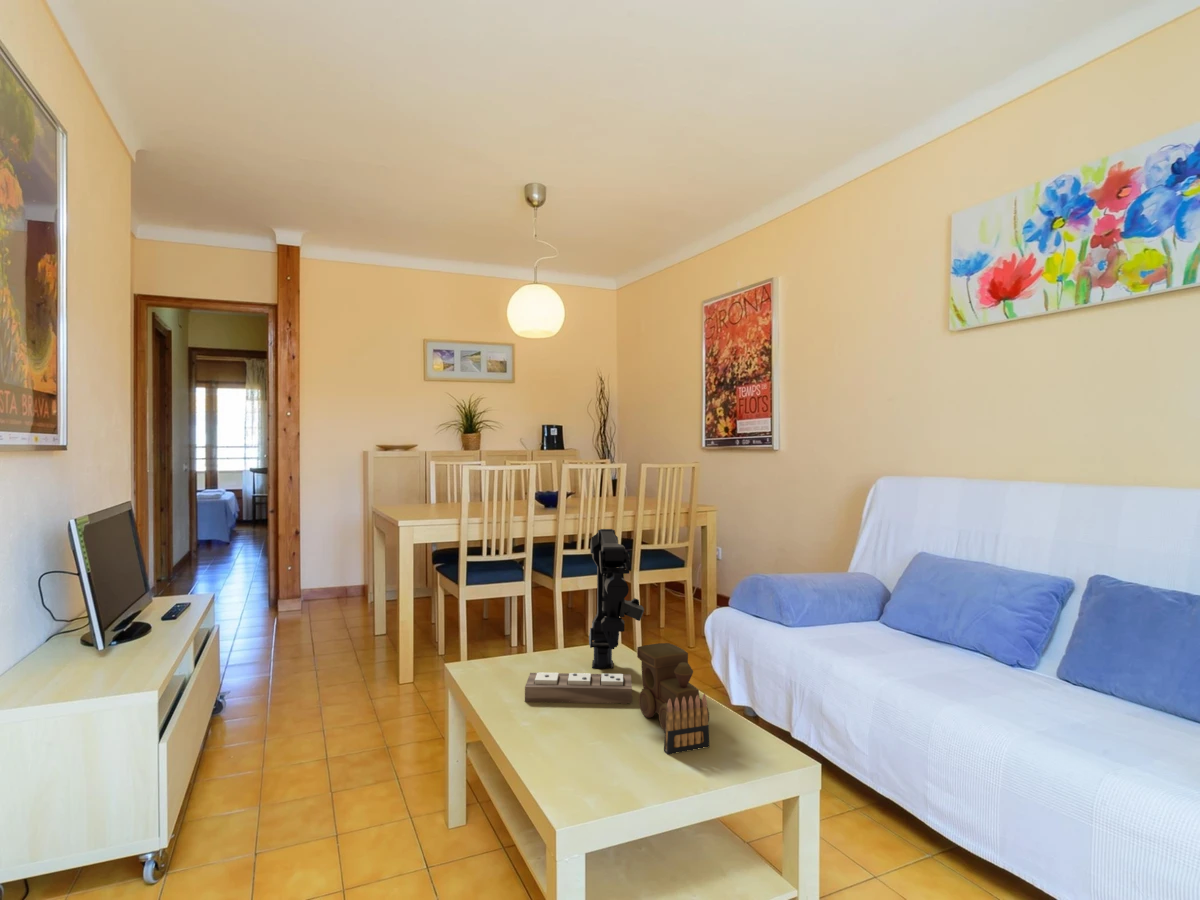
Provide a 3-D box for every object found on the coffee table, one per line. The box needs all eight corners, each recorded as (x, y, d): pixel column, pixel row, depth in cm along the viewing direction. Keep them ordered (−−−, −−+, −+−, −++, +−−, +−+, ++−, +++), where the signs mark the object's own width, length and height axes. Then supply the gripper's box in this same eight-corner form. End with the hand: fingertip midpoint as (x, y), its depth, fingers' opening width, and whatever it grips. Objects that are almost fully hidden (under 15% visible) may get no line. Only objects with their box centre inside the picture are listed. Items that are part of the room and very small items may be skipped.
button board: (530, 686, 183) (530, 672, 183) (630, 688, 182) (630, 674, 182) (524, 701, 172) (524, 686, 172) (631, 703, 171) (632, 688, 171)
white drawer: (537, 681, 180) (537, 671, 180) (558, 682, 180) (558, 672, 180) (534, 689, 174) (534, 679, 174) (556, 689, 174) (556, 679, 174)
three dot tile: (601, 682, 180) (601, 672, 180) (622, 683, 180) (622, 673, 180) (600, 690, 174) (601, 680, 174) (623, 691, 174) (623, 680, 174)
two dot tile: (569, 682, 180) (569, 672, 180) (590, 682, 180) (590, 672, 180) (567, 690, 174) (567, 679, 174) (589, 690, 174) (590, 680, 174)
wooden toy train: (633, 710, 167) (633, 646, 168) (671, 703, 172) (671, 641, 172) (672, 741, 149) (673, 670, 149) (713, 733, 154) (714, 664, 154)
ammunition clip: (705, 743, 148) (705, 691, 148) (709, 747, 147) (710, 694, 147) (663, 751, 145) (664, 697, 145) (667, 754, 143) (667, 700, 143)
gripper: (643, 600, 168) (643, 660, 168) (640, 585, 186) (640, 639, 186) (601, 599, 168) (600, 659, 168) (602, 584, 187) (601, 638, 186)
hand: (612, 648), depth 177 cm, fingers closed
